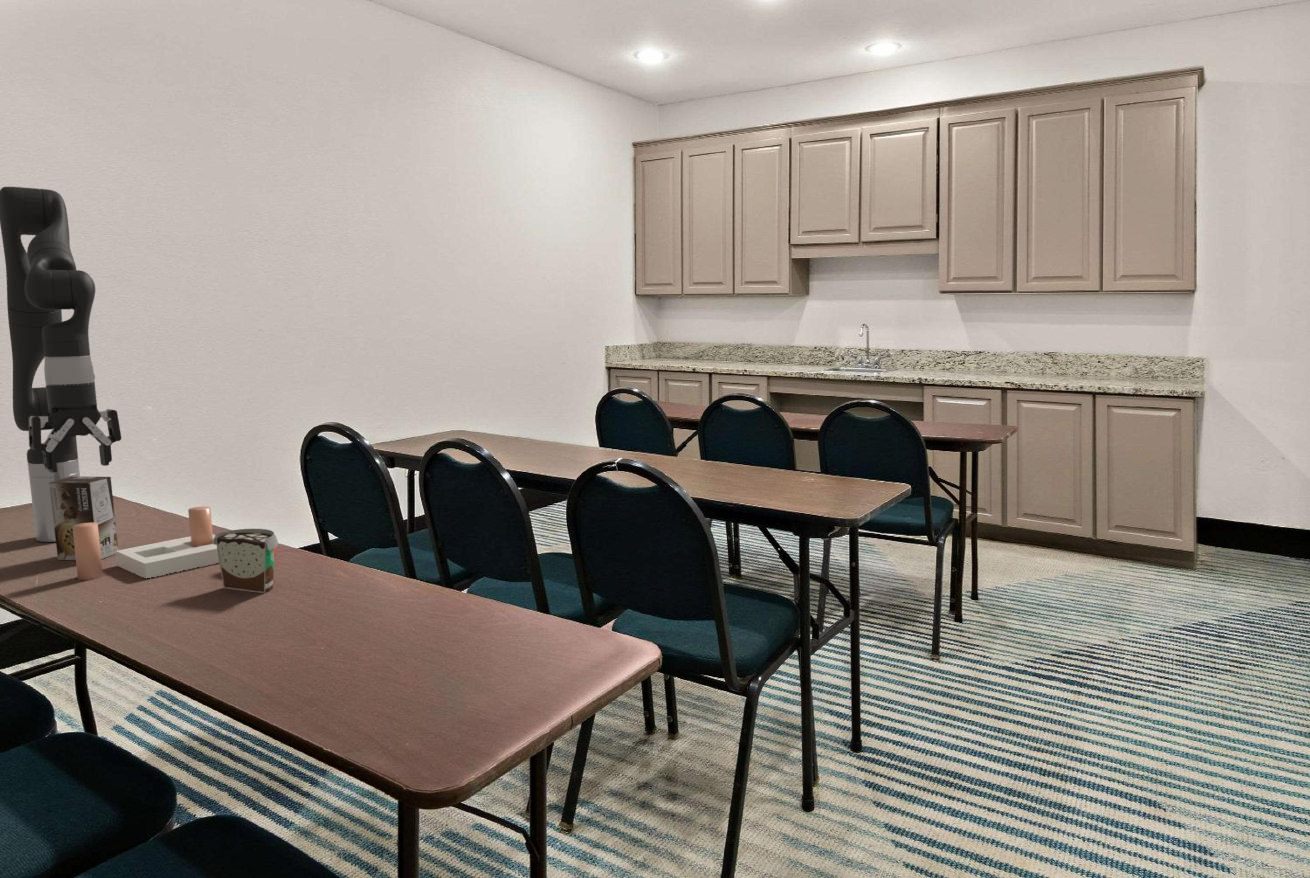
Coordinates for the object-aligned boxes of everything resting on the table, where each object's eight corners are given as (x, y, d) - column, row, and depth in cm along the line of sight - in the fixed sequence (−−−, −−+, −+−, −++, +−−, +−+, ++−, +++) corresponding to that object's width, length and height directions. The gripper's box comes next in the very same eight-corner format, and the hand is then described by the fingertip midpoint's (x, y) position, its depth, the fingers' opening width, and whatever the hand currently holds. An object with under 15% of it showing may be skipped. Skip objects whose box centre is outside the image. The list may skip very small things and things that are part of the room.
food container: (296, 584, 163) (292, 530, 161) (271, 594, 157) (267, 539, 156) (242, 577, 167) (238, 525, 165) (217, 587, 161) (212, 533, 160)
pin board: (117, 565, 175) (112, 516, 173) (210, 546, 189) (206, 500, 187) (146, 579, 166) (141, 526, 165) (241, 557, 180) (238, 509, 178)
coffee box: (120, 552, 184) (112, 476, 182) (98, 561, 178) (90, 482, 176) (79, 551, 185) (71, 475, 183) (55, 560, 179) (47, 481, 176)
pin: (74, 577, 167) (69, 525, 166) (98, 572, 170) (93, 521, 169) (82, 581, 165) (76, 528, 163) (106, 576, 168) (101, 524, 166)
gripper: (105, 377, 170) (113, 461, 172) (17, 382, 159) (27, 472, 162) (121, 379, 165) (129, 465, 168) (31, 384, 154) (41, 476, 157)
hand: (79, 468), depth 165 cm, fingers open, 8 cm apart
